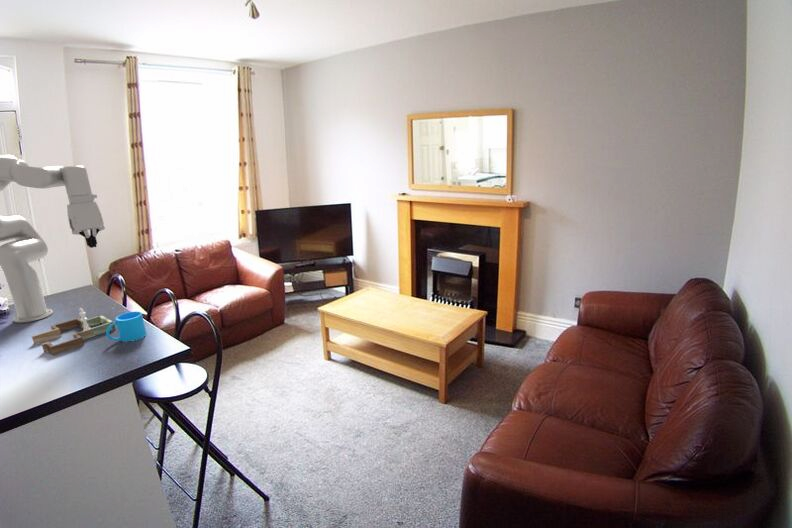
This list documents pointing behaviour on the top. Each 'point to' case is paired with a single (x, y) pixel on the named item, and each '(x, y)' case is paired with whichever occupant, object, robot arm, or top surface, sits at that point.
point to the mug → (128, 326)
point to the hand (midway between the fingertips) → (92, 246)
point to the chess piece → (84, 319)
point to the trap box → (77, 336)
